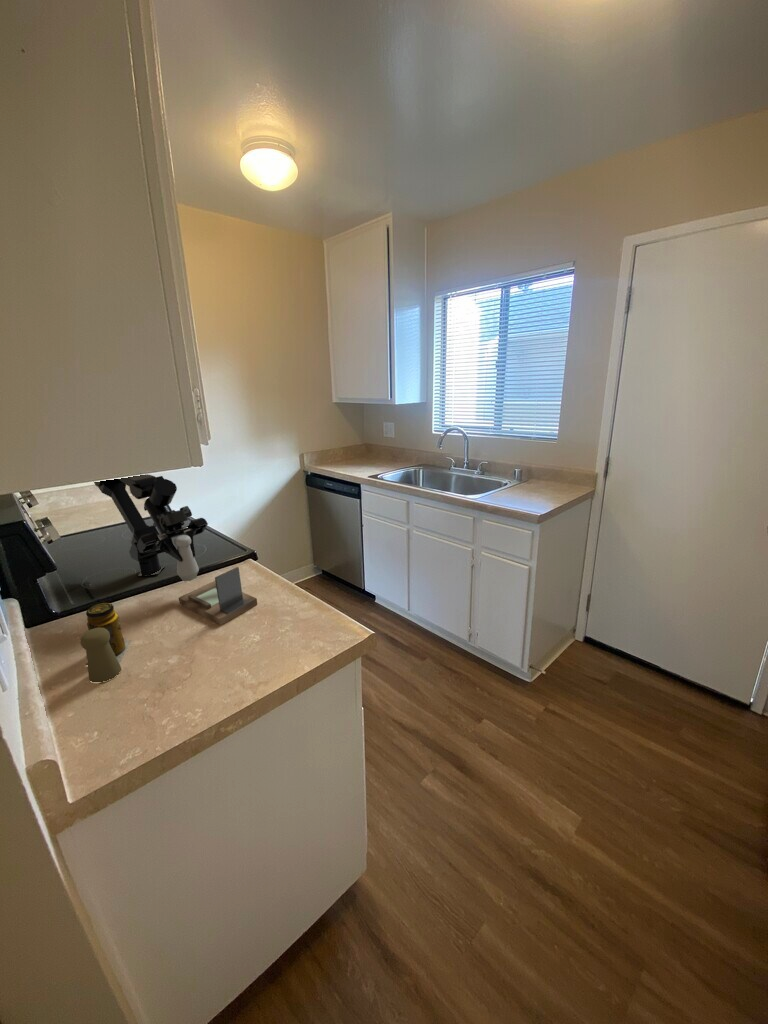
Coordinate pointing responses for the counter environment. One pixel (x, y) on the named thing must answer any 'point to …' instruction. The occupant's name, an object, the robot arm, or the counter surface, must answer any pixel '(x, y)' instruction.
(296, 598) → the counter surface
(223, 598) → the bookend
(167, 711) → the counter surface
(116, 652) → the condiment
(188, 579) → the salt shaker
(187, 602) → the wooden card stand
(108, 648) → the cork
